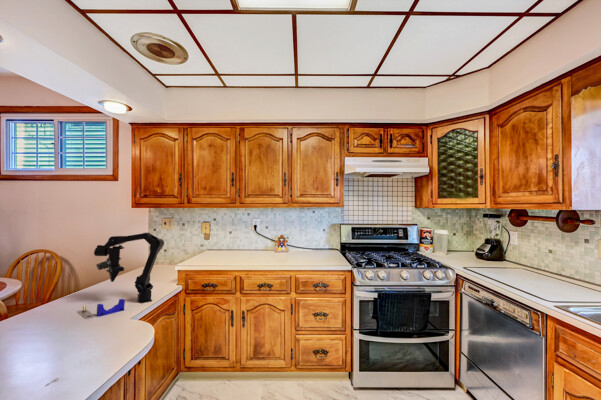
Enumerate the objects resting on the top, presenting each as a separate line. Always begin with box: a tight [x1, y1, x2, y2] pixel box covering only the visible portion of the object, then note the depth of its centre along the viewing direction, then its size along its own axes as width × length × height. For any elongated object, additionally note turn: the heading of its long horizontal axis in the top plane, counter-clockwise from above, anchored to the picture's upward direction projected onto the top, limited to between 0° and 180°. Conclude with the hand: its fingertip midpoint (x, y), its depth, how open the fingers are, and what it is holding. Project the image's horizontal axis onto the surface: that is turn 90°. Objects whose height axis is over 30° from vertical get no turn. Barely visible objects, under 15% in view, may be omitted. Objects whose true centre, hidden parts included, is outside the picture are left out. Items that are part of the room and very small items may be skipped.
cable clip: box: [95, 298, 126, 318], centre depth 143 cm, size 12×4×6 cm, turn 149°
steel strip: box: [76, 305, 96, 320], centre depth 139 cm, size 4×16×4 cm, turn 51°
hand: (112, 281), depth 162 cm, fingers closed
